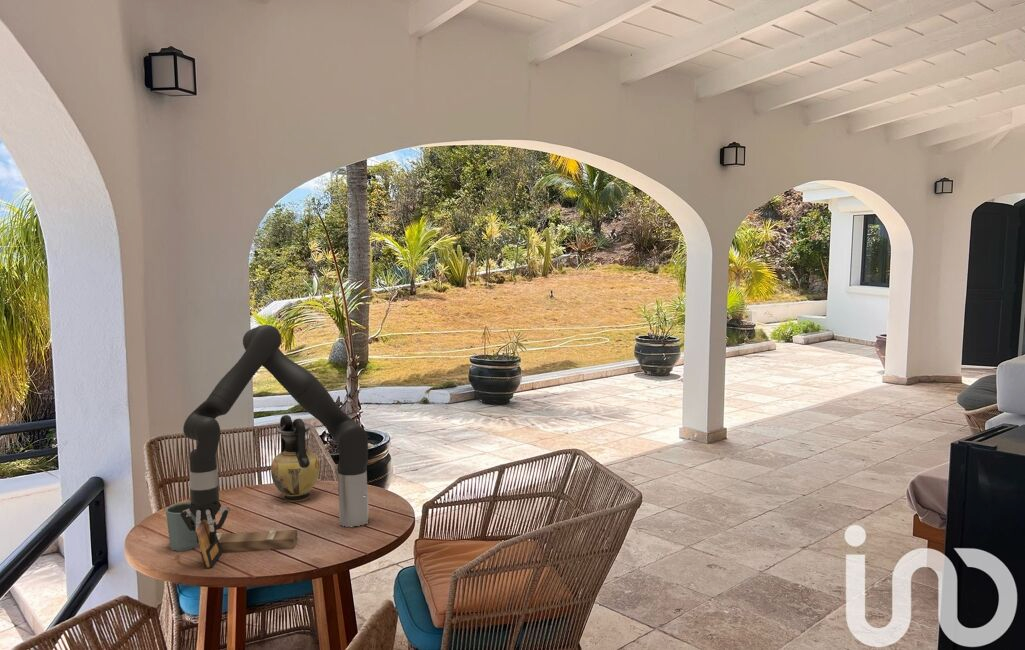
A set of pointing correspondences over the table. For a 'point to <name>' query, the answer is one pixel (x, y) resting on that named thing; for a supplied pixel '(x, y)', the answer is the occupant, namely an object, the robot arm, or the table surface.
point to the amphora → (294, 462)
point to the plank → (257, 540)
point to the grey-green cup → (180, 528)
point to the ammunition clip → (208, 545)
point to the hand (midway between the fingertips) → (206, 543)
